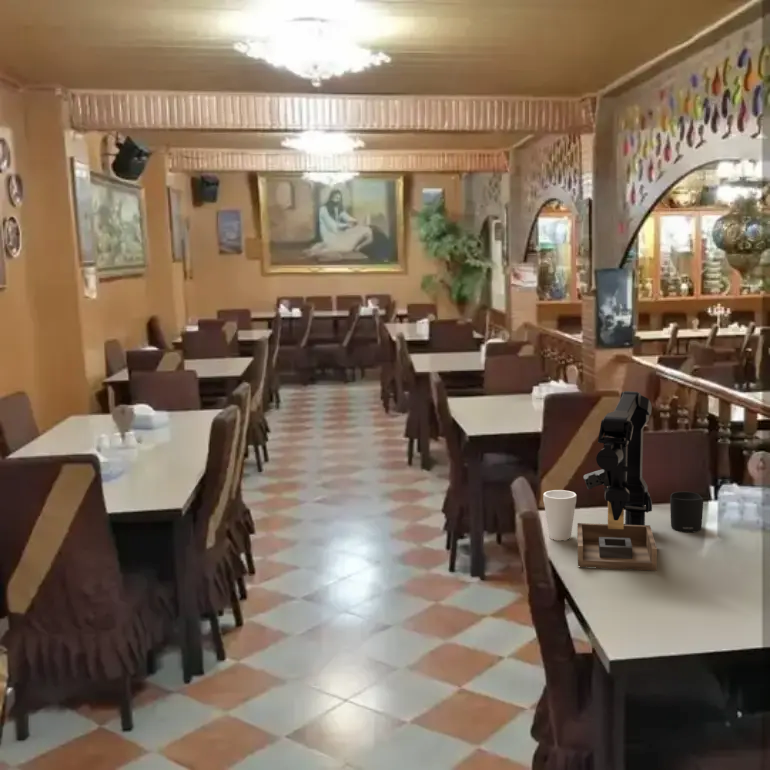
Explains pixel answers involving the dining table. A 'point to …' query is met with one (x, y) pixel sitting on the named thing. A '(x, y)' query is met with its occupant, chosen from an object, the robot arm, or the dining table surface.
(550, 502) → the foam cup
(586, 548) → the inlet box
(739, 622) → the dining table surface
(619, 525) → the wooden block
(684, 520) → the pen holder
